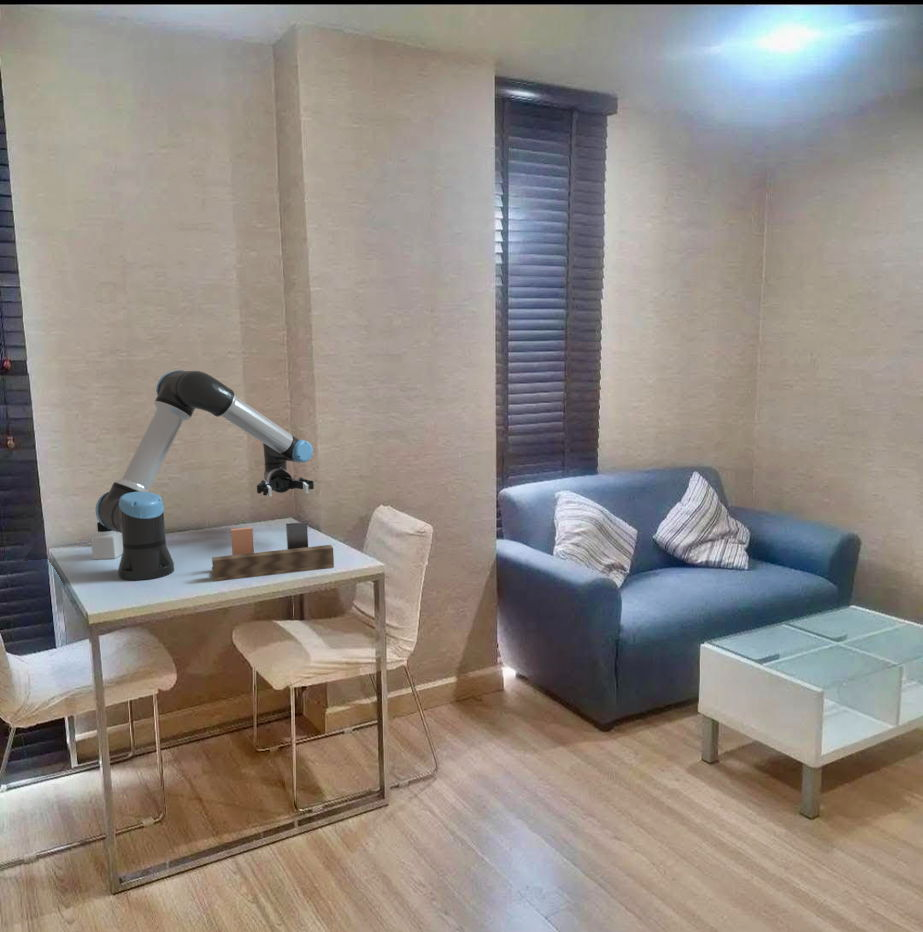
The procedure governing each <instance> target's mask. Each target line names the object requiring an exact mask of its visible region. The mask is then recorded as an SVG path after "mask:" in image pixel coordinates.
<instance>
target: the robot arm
mask: <svg viewBox="0 0 923 932" xmlns="http://www.w3.org/2000/svg"><path fill="white" fill-rule="evenodd" d="M155 390H156V391H155V392H156V394H157V396H156V398H155V400H154V406H155V408H156V410H155V412H154V414H153V416H152V418H151V420H150V422H149V424H148V426H147V428H146V430H145V432H144V434H143V436H142V438H141V440H140V442H139V444H138V446H137V447H136V450H135V452H134V454H133V456H132V457H131V459H130V461H129V464H128V466H127V467H126V469H125V472H124V474H123V476H122V477H121V479H118V480H115V481H114V482H113V484H112V485H111V487H110V489H109V491H107V492H106V493H103V494H102V495H101V496H100V497H99V499H98V500H97V502H96V504H95V515H96V518H97V521H98V520H99V522H100V523H101V524H102V525H103V526H105V527H106V528H108V529H109V530H112V531H117V532H120V533H122V540H123V553H122V555H121V558H120V562H119V565H118V577H119V578H120V579H123V580H127V581H142V580H151V579H153V580H154V579H157V578H162V577H165V576H168V575H170V574H172V573H173V572H174V571H175V563H174V560H173V558H172V556H171V553H170V551H169V549H168V546H167V540H166V527H165V526H166V524H165V507H164V503H163V498H162V496H161V495H159V494H158V493H155V492H150V489H151V487H152V486H153V484H154V481H155V480H156V478H157V476H158V473H159V471H160V469H161V468H162V466H163V464H164V461H165V459H166V458H167V455H168V453H169V451H170V449H171V448H172V445H173V442H174V441H175V439H176V436H178V435H177V434H178V433H179V431H180V429H181V427H182V424H183V423H184V422H186V421H188V420H190V419H191V418H192V415H193V413H194V412H195V409H198V410H200V411H201V410H202V411H205V412H207V413H210V414H211V415H213V416H215V417H216V418H217V417H222V418H224V419H226V420H227V421H228V422H230V423H232V424H233V425H234V426H236V427H237V428H240V429H241V430H242V431H244V432H246V433H247V434H248V435H250V436H252V437H253V438H255V439H257V440H258V441H260V442H261V443H262V446H263V455H264V456H263V457H264V472H263V474H264V475H263V476H264V480H261V481H260V483H258V484H257V485H256V493H257V494H261V493H262V494H263V496H268V497H269V498H271V497H273V493H272V492H273V491H274V492H276V493H279V494H282V493H287V492H288V491H289V490H294V489H299V490H302V491H303V492H304V493H305V494H310V492H309V490H314V489H315V487H314V485H315V484H314V480H309V479H306V478H303V477H299V478H297V479H296V478H293V477H292V475H291V474H290V473H289V472H288V469H287V468H288V467H287V466H288V465H287V464H288V463H287V462H292V463H293V462H295V463H297V464H300V463H304V464H305V463H307V462H309V461H310V460H311V459H312V457H313V453H314V448H313V446H312V444H311V443H310V442H309V441H307V440H304V439H299V438H298V437H296V436H294V435H293V434H291V433H290V432H288V431H287V430H285V429H284V428H282V427H281V426H279V425H278V424H276V423H275V422H274V421H272V420H270V419H269V418H268V417H266V416H265V415H264V414H262V413H260V412H259V411H257V410H256V409H255V408H253V407H252V406H250V405H248V404H247V403H246V402H245V401H244V400H241V399H240V398H239V397H237V396H236V393H235V391H234V390H233V389H232V388H230V387H228V386H227V385H225V384H224V383H223V382H221V381H220V380H218V379H217V378H215V377H213V376H212V375H210V374H208V373H206V372H203V371H200V370H182V369H178V370H173V371H170V372H167V373H165V374H164V375H162V376H161V377H160V379H159V380H158V382H157V384H156V388H155Z"/></svg>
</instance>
